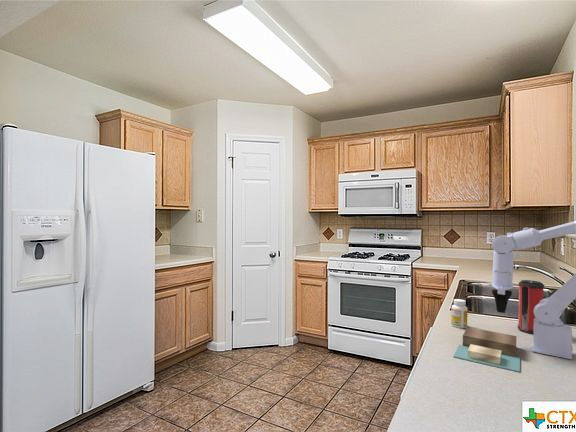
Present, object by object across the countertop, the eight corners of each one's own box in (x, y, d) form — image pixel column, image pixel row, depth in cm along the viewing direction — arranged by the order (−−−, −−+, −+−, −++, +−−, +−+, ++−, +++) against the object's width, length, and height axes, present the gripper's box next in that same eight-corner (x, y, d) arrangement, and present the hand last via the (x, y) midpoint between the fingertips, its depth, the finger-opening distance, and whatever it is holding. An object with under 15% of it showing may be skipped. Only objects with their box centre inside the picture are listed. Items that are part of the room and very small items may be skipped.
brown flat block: (516, 347, 109) (516, 336, 109) (515, 357, 100) (516, 345, 100) (466, 337, 117) (467, 327, 117) (462, 346, 108) (462, 335, 108)
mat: (519, 358, 100) (519, 357, 100) (519, 372, 91) (519, 371, 91) (459, 345, 109) (459, 344, 109) (453, 357, 100) (453, 356, 100)
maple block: (500, 357, 95) (499, 364, 95) (501, 350, 100) (501, 357, 100) (467, 350, 99) (467, 357, 99) (470, 344, 104) (470, 350, 104)
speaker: (543, 336, 119) (544, 284, 119) (516, 331, 124) (518, 281, 124) (543, 330, 125) (544, 281, 125) (518, 326, 130) (519, 278, 130)
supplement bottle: (463, 324, 131) (464, 298, 131) (469, 328, 126) (470, 302, 126) (449, 323, 132) (449, 298, 132) (454, 328, 126) (454, 301, 126)
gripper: (489, 267, 123) (488, 305, 123) (487, 272, 111) (485, 314, 111) (513, 269, 119) (512, 308, 119) (513, 275, 107) (511, 319, 107)
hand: (501, 312), depth 115 cm, fingers closed
